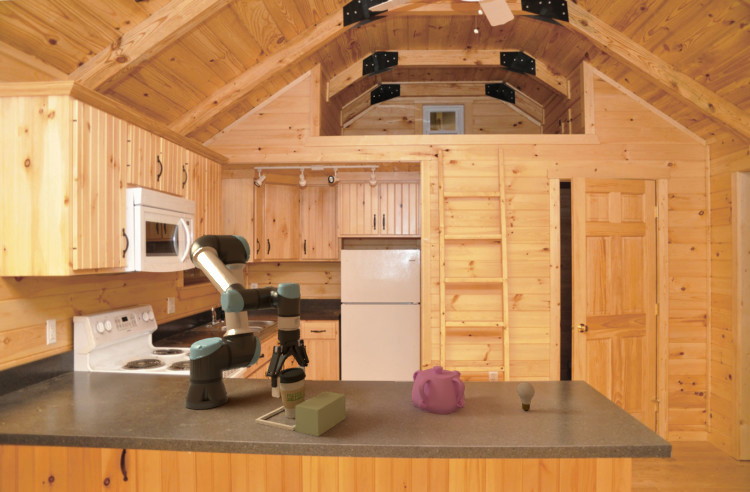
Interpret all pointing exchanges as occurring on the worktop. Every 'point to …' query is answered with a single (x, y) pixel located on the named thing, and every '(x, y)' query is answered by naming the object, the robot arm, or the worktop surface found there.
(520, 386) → the light bulb
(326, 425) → the green block with frame
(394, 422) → the worktop surface
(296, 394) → the coffee cup
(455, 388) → the pink pot with handles
